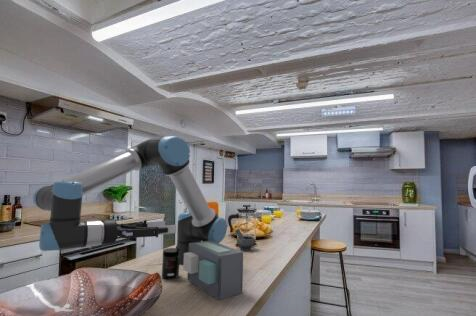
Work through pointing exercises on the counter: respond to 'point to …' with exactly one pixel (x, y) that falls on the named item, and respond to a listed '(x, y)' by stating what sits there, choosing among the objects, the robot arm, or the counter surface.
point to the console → (219, 269)
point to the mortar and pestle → (244, 241)
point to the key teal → (207, 271)
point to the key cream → (191, 262)
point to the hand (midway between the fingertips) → (169, 226)
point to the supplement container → (170, 263)
